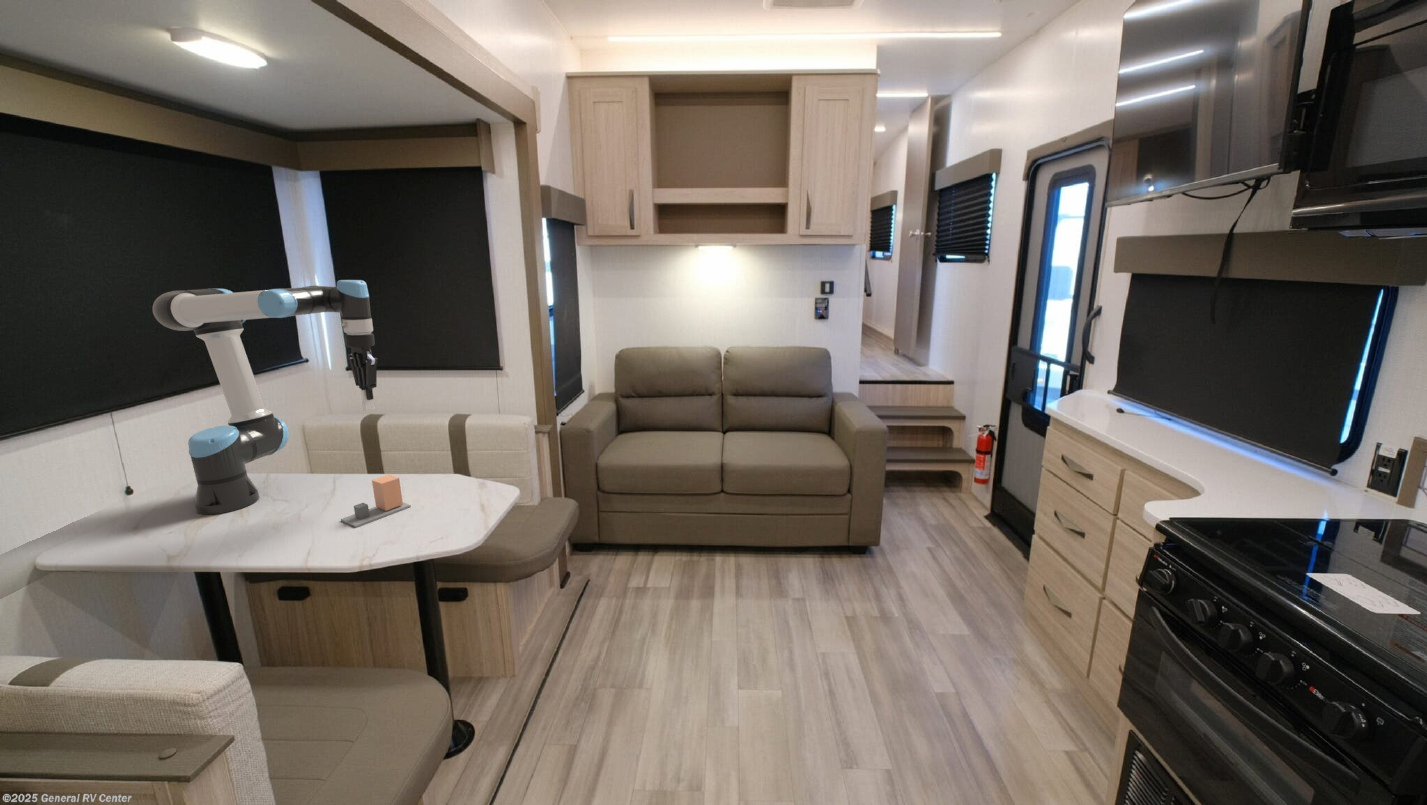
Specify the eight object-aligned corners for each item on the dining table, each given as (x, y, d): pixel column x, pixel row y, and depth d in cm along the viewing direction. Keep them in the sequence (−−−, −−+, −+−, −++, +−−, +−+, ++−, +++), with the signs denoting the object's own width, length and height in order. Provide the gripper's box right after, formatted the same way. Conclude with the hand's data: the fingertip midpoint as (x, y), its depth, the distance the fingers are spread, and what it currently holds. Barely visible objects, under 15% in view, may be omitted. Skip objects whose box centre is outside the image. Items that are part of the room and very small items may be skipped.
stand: (341, 520, 164) (336, 491, 161) (395, 501, 177) (391, 474, 174) (356, 527, 159) (351, 498, 157) (410, 506, 173) (406, 479, 170)
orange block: (376, 506, 170) (371, 480, 168) (393, 500, 175) (389, 474, 172) (385, 510, 168) (381, 483, 166) (402, 504, 172) (399, 478, 170)
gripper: (334, 332, 169) (345, 408, 175) (356, 336, 163) (367, 415, 169) (360, 329, 176) (370, 403, 182) (383, 333, 169) (393, 410, 175)
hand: (369, 409), depth 175 cm, fingers closed
